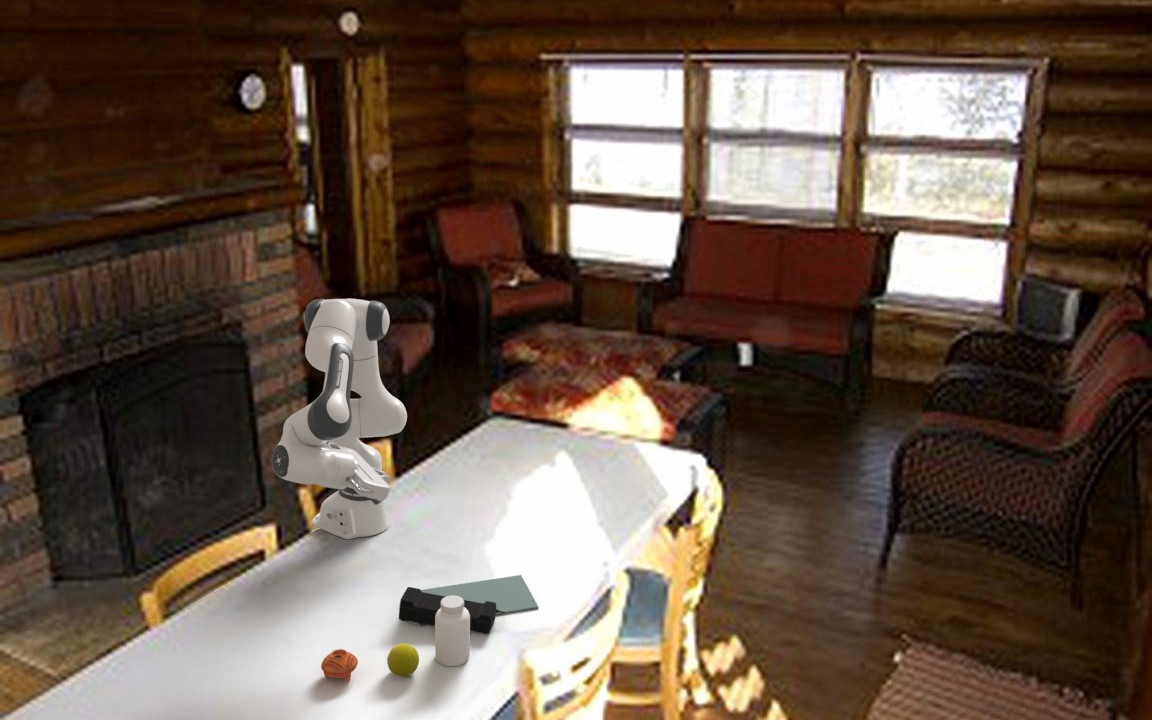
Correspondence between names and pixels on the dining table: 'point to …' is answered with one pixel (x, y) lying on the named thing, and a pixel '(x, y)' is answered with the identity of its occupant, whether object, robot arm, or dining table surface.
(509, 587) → the mat
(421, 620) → the portable radio
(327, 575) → the dining table surface
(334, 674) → the pot
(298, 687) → the dining table surface
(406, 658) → the tennis ball
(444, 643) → the pill bottle
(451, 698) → the dining table surface
